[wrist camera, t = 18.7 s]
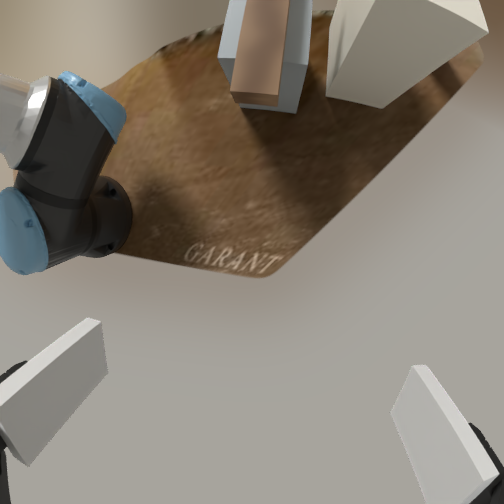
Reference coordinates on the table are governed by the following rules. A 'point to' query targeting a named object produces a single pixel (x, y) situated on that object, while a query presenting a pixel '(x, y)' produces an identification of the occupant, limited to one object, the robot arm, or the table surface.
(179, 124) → the table surface
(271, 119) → the table surface
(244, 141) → the table surface
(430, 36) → the tall cream rectangular block
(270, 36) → the brown wooden beam
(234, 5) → the tall pale gray pillar
